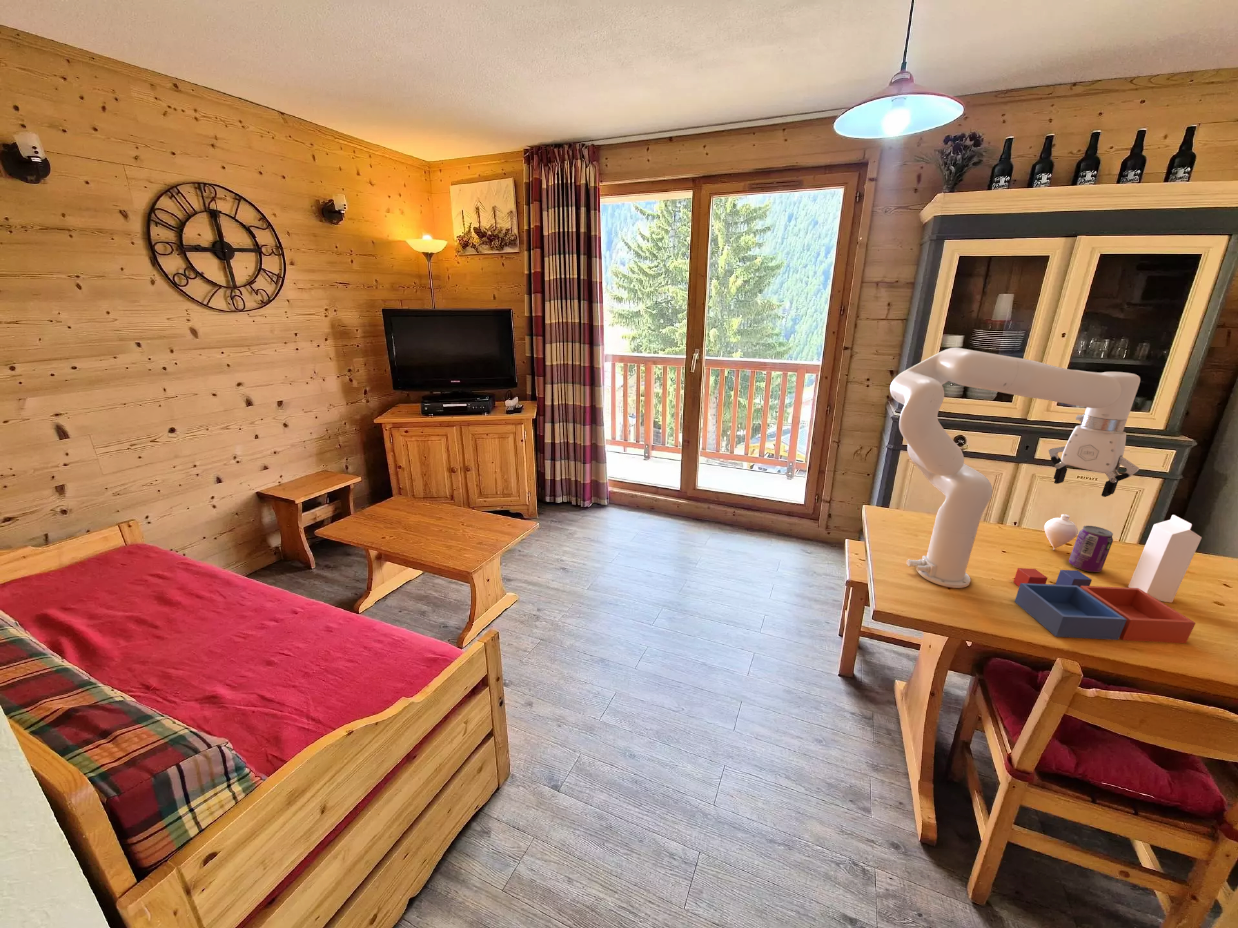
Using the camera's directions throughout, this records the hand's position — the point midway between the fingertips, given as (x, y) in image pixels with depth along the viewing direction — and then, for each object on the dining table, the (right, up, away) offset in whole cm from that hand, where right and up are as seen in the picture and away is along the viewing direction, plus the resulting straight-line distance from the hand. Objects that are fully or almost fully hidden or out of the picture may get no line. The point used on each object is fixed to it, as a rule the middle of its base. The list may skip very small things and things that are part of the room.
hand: (1081, 489), depth 123 cm
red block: (-7, -27, +7) cm, 29 cm away
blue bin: (-10, -31, -6) cm, 34 cm away
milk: (+22, -28, +5) cm, 36 cm away
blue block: (+3, -27, +7) cm, 28 cm away
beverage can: (+17, -24, +17) cm, 34 cm away
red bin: (+5, -32, -7) cm, 33 cm away
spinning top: (+17, -21, +27) cm, 38 cm away
